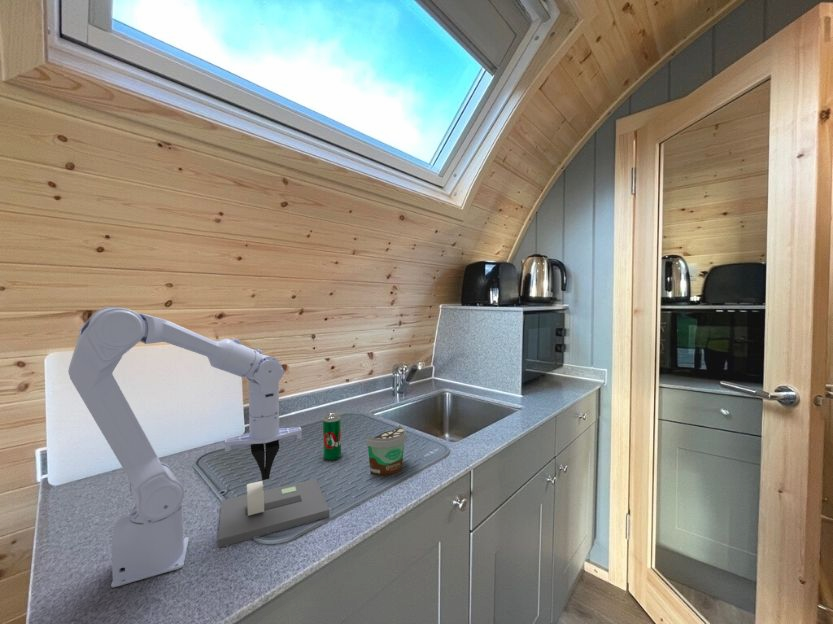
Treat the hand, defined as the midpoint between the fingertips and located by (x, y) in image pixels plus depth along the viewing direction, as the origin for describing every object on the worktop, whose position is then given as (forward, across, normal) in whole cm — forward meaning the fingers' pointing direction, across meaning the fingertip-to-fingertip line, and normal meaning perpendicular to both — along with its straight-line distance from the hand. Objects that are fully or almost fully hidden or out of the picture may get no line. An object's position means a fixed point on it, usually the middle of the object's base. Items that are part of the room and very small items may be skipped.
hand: (265, 477), depth 74 cm
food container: (+8, -31, -5) cm, 32 cm away
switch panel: (+8, -2, 0) cm, 8 cm away
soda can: (+8, -19, -20) cm, 28 cm away
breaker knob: (+6, +2, 0) cm, 6 cm away
